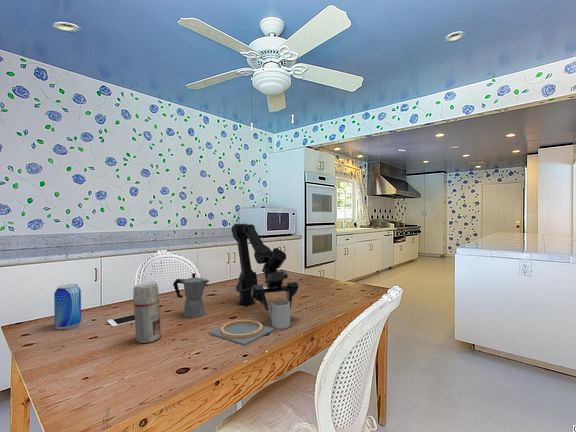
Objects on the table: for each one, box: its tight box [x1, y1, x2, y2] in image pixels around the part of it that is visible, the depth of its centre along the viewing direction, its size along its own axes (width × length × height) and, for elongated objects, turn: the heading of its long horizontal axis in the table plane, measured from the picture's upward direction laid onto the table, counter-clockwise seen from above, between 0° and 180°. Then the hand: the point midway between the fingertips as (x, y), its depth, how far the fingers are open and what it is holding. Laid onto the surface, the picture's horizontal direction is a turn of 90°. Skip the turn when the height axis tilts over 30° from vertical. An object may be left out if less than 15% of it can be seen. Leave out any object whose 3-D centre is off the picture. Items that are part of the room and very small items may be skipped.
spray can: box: [132, 280, 162, 344], centre depth 105 cm, size 8×8×20 cm
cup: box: [268, 299, 291, 330], centre depth 117 cm, size 7×10×9 cm
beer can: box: [53, 283, 82, 330], centre depth 118 cm, size 8×8×16 cm
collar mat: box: [208, 318, 276, 347], centre depth 110 cm, size 18×16×2 cm
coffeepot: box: [172, 272, 210, 319], centre depth 130 cm, size 15×9×18 cm, turn 92°
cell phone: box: [106, 313, 135, 328], centre depth 126 cm, size 9×18×1 cm, turn 134°
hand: (279, 309), depth 115 cm, fingers open, 9 cm apart
